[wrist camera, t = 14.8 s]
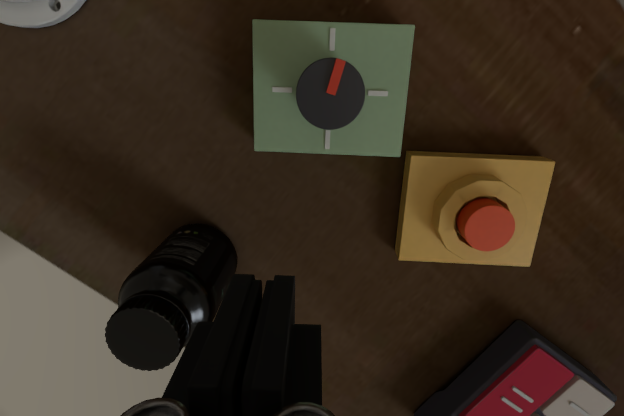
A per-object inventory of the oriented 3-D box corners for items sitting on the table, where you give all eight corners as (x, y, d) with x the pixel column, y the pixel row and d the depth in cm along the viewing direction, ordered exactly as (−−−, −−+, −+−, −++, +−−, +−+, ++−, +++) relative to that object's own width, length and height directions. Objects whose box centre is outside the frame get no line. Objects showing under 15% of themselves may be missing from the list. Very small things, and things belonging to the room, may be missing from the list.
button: (453, 240, 30) (460, 250, 28) (460, 196, 29) (468, 204, 27) (499, 243, 30) (509, 252, 28) (509, 199, 29) (520, 206, 27)
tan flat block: (394, 250, 34) (402, 271, 30) (406, 150, 31) (416, 160, 28) (518, 256, 34) (542, 278, 30) (542, 156, 31) (571, 167, 27)
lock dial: (347, 127, 28) (352, 139, 22) (295, 110, 28) (287, 118, 22) (365, 71, 27) (375, 69, 21) (310, 53, 26) (306, 47, 21)
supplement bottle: (150, 253, 35) (65, 336, 24) (198, 206, 34) (133, 271, 22) (204, 301, 37) (149, 401, 25) (254, 258, 35) (219, 345, 24)
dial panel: (260, 144, 32) (253, 151, 29) (259, 25, 29) (251, 18, 26) (393, 150, 31) (400, 157, 28) (406, 30, 28) (415, 24, 26)
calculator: (626, 405, 34) (506, 504, 38) (593, 372, 38) (487, 463, 42) (540, 341, 32) (422, 451, 36) (514, 313, 37) (411, 414, 40)
